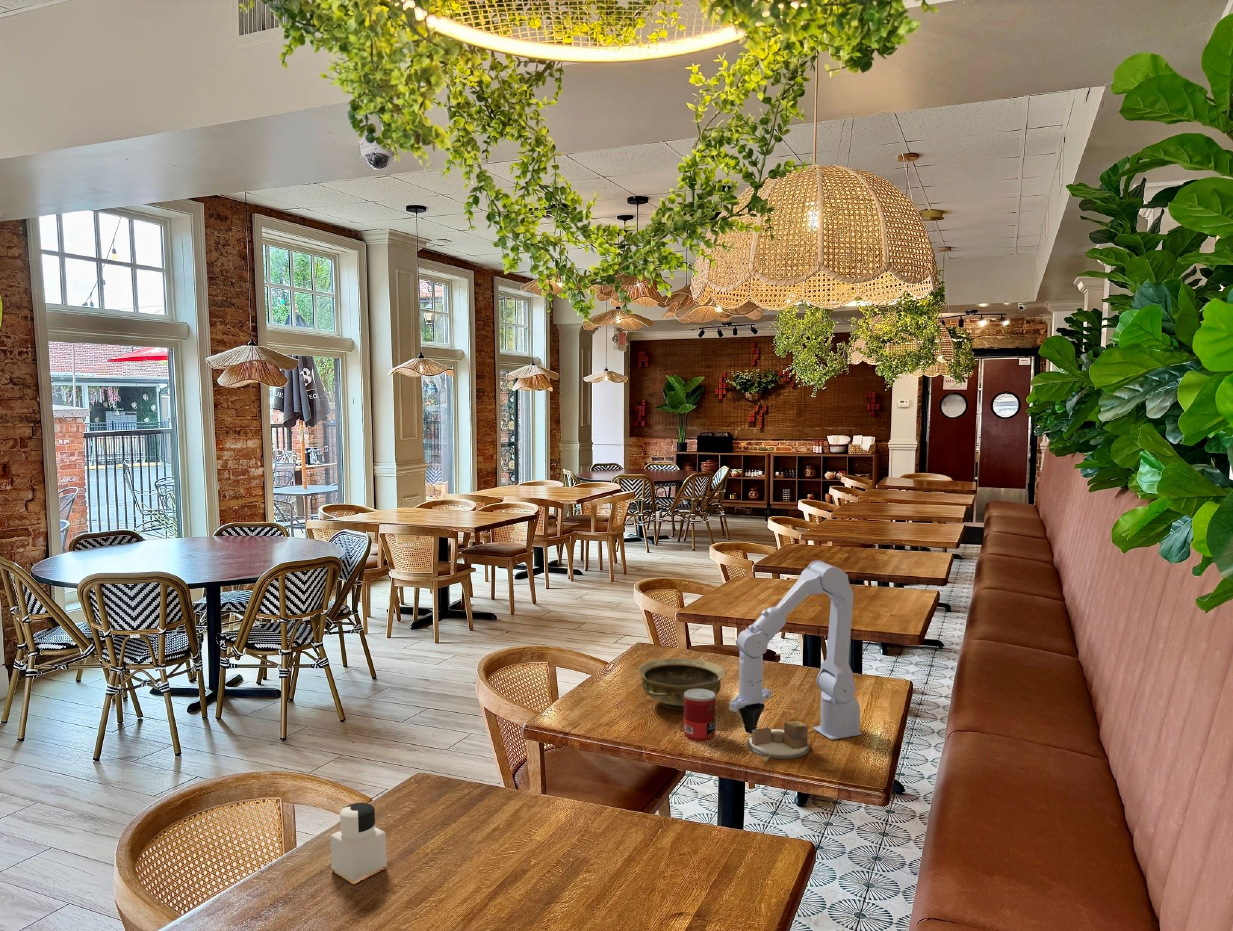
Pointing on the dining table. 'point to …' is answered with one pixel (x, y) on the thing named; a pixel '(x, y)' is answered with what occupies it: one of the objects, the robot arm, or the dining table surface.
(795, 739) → the walnut block
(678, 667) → the ceramic bowl
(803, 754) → the bearing plate
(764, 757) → the index mark
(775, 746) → the turntable
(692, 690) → the canned food
